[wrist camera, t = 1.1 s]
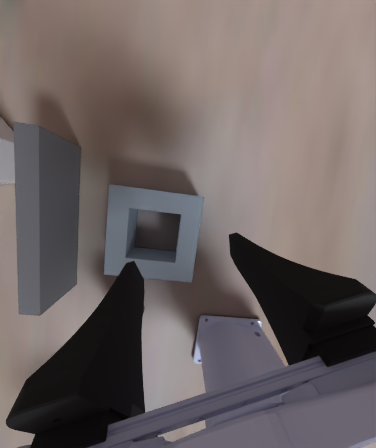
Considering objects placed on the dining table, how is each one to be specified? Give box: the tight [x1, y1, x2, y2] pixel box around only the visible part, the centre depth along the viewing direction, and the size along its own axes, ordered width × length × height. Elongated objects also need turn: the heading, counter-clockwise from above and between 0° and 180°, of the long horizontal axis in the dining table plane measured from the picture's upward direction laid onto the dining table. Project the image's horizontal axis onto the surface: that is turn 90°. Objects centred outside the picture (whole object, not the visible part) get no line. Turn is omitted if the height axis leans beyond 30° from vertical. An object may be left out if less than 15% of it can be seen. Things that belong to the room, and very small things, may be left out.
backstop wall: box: [13, 122, 81, 316], centre depth 18 cm, size 2×18×6 cm, turn 172°
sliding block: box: [104, 184, 204, 282], centre depth 20 cm, size 10×10×4 cm
